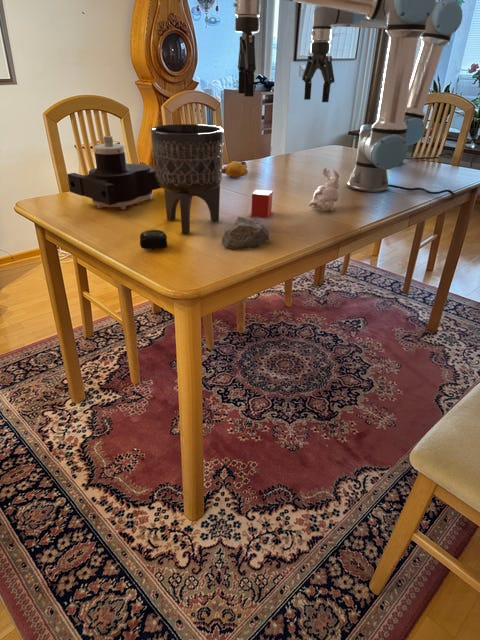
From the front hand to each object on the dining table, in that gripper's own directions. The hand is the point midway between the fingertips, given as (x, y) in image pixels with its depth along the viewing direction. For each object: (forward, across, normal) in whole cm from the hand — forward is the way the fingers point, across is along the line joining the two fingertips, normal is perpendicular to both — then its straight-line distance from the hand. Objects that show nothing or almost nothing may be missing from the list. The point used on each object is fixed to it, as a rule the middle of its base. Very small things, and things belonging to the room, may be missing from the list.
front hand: (245, 95), depth 148 cm
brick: (+33, +24, +2) cm, 41 cm away
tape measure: (+33, +50, -31) cm, 68 cm away
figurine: (+33, +20, +24) cm, 45 cm away
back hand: (+5, -42, +37) cm, 56 cm away
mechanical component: (+33, +5, -40) cm, 52 cm away
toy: (+33, -30, +1) cm, 45 cm away
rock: (+33, +50, -6) cm, 60 cm away
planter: (+33, +32, -21) cm, 50 cm away
